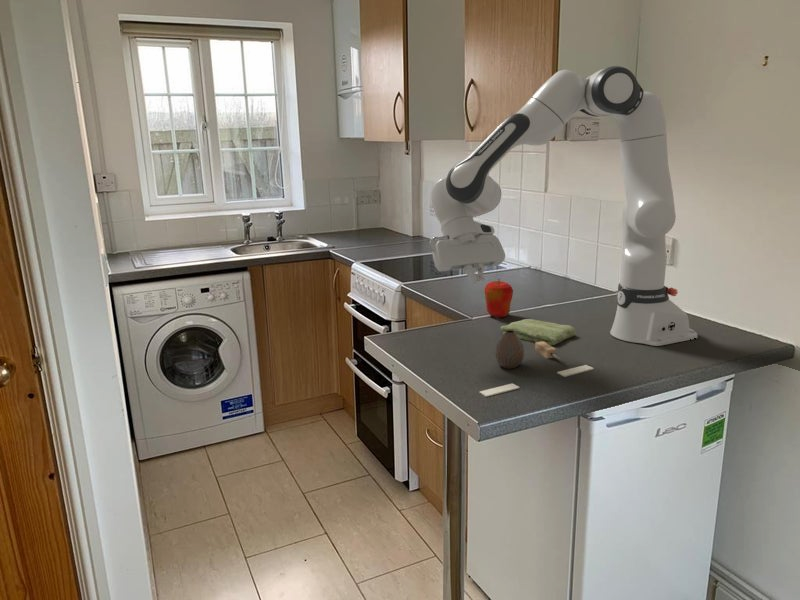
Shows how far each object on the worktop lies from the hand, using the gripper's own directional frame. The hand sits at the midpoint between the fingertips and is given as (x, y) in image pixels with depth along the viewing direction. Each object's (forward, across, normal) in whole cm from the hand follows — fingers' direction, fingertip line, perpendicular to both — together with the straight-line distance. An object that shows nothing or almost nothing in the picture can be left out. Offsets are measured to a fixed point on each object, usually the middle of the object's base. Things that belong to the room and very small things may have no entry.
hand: (479, 281), depth 155 cm
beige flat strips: (+30, 0, -8) cm, 30 cm away
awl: (+23, +12, 0) cm, 26 cm away
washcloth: (+14, +22, +12) cm, 28 cm away
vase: (+23, 0, +1) cm, 23 cm away
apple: (0, +23, +28) cm, 36 cm away
